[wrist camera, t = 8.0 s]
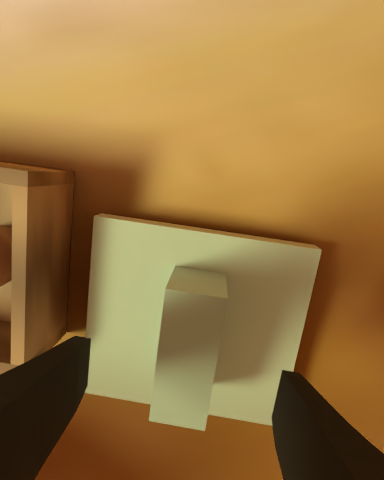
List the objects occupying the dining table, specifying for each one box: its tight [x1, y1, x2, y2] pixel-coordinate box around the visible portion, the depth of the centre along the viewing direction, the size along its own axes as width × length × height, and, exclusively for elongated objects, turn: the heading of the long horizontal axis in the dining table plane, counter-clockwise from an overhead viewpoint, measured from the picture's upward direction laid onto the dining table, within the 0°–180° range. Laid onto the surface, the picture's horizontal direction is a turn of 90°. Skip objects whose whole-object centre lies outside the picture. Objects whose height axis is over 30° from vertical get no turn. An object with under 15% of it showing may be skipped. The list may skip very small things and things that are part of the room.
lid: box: [85, 213, 322, 431], centre depth 15 cm, size 10×11×5 cm
